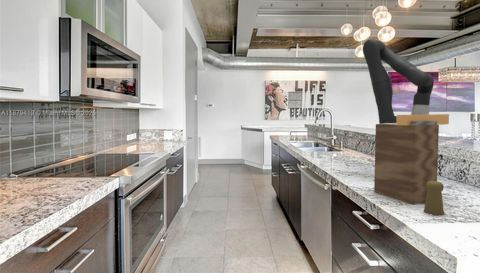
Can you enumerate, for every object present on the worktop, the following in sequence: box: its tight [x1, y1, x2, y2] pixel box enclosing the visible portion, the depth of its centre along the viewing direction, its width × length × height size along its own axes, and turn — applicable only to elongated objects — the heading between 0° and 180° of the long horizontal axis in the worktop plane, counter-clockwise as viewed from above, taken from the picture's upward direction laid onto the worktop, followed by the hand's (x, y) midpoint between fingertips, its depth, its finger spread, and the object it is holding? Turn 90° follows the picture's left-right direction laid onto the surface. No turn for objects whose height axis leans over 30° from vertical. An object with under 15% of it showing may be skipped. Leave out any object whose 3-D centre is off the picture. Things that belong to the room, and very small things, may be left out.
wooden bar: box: [396, 113, 450, 126], centre depth 123 cm, size 22×4×4 cm, turn 108°
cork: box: [423, 180, 445, 216], centre depth 107 cm, size 6×6×11 cm
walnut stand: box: [373, 121, 440, 205], centre depth 128 cm, size 12×20×32 cm, turn 18°
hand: (416, 147), depth 153 cm, fingers open, 8 cm apart
